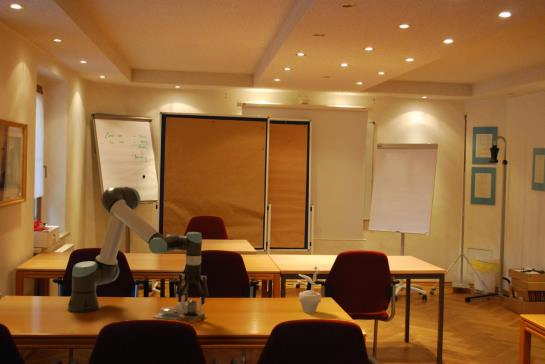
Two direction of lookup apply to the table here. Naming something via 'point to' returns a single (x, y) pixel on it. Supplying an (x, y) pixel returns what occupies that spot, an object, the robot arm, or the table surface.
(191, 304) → the cell
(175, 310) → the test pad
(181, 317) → the brown square tray
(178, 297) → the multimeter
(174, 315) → the base
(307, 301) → the potted plant
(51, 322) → the table surface
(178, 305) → the cup
